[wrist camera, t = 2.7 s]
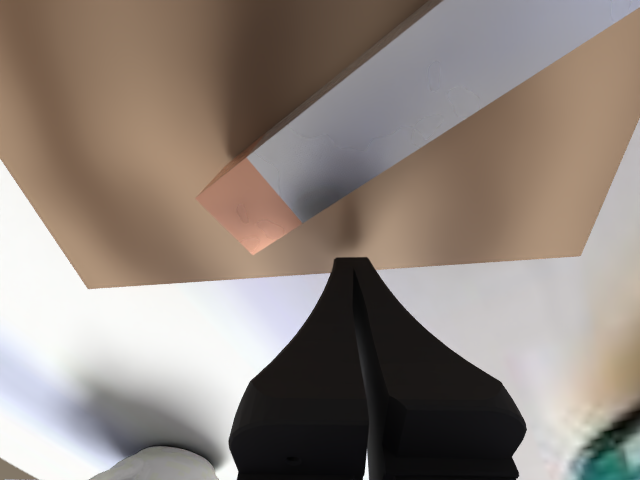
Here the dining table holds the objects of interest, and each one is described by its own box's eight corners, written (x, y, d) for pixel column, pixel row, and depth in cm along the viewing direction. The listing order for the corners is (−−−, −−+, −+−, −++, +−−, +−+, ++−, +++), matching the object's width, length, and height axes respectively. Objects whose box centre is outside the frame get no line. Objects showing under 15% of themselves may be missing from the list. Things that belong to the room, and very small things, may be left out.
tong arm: (580, -123, 7) (720, -221, 5) (600, -16, 8) (725, -48, 6) (226, 164, 11) (194, 198, 8) (269, 212, 12) (252, 255, 9)
